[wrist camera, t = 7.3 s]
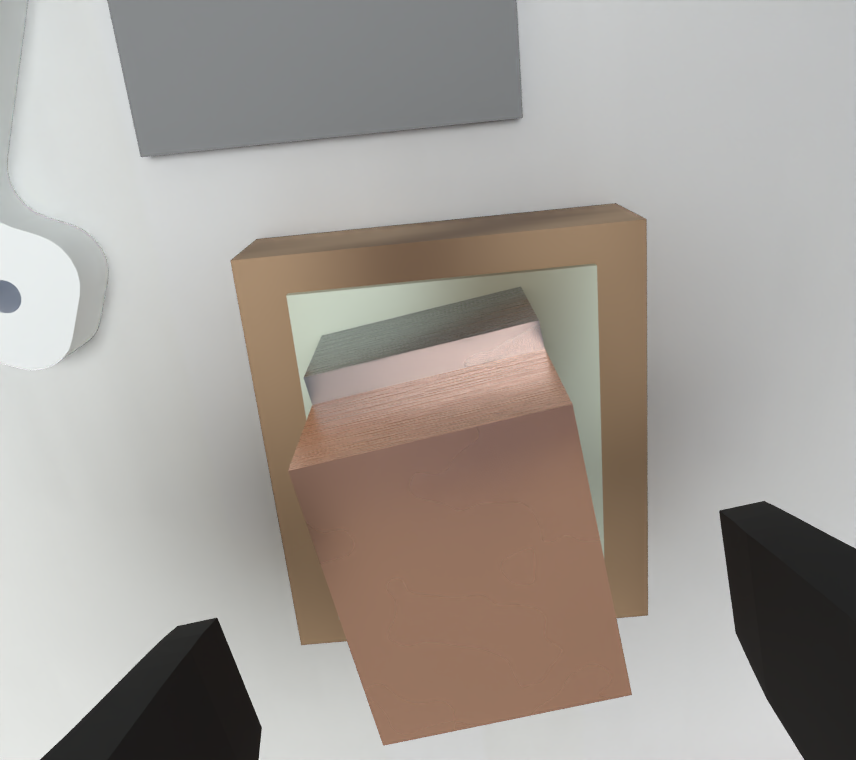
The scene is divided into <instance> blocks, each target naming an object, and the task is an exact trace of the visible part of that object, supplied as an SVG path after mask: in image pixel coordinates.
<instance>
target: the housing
mask: <svg viewBox="0 0 856 760" xmlns="http://www.w3.org/2000/svg"><path fill="white" fill-rule="evenodd" d="M304 381H305V384H306V387H307V390H308V393H309V396H310V399H311V403H312V407H311V410H310V412H309V415H308V418H307V420H306V423H305V426H304V429H303V431H302V434H301V437H300V439H299V442H298V445H297V448H296V450H295V453H294V456H293V459H292V461H291V464H290V467H289V469H288V472H289V475H290V478H291V481H292V484H293V487H294V489H295V492H296V495H297V498H298V501H299V504H300V507H301V510H302V513H303V515H304V518H305V521H306V524H307V527H308V530H309V533H310V536H311V538H312V541H313V544H314V547H315V550H316V553H317V556H318V559H319V562H320V564H321V567H322V570H323V573H324V576H325V579H326V582H327V585H328V587H329V590H330V593H331V596H332V599H333V602H334V605H335V608H336V610H337V613H338V616H339V619H340V622H341V625H342V628H343V631H344V634H345V636H346V639H347V642H348V645H349V648H350V651H351V654H352V657H353V659H354V662H355V665H356V668H357V671H358V674H359V677H360V680H361V683H362V685H363V688H364V691H365V694H366V697H367V700H368V703H369V706H370V708H371V711H372V714H373V717H374V720H375V723H376V726H377V729H378V732H379V734H380V737H381V740H382V743H383V745H388V744H393V743H398V742H403V741H408V740H413V739H418V738H422V737H427V736H432V735H437V734H442V733H447V732H452V731H457V730H462V729H467V728H471V727H476V726H481V725H486V724H491V723H496V722H501V721H506V720H511V719H516V718H520V717H525V716H530V715H535V714H540V713H545V712H550V711H555V710H560V709H565V708H569V707H574V706H579V705H584V704H589V703H594V702H599V701H604V700H609V699H613V698H618V697H623V696H628V695H632V693H631V688H630V683H629V678H628V673H627V668H626V664H625V659H624V654H623V649H622V644H621V639H620V634H619V629H618V624H617V619H616V615H615V610H614V605H613V600H612V595H611V590H610V585H609V580H608V575H607V570H606V566H605V561H604V556H603V551H602V546H601V541H600V536H599V531H598V526H597V521H596V517H595V512H594V507H593V502H592V497H591V492H590V487H589V482H588V477H587V472H586V468H585V463H584V458H583V453H582V448H581V443H580V438H579V433H578V428H577V423H576V419H575V414H574V409H573V404H572V402H571V400H570V398H569V396H568V394H567V392H566V390H565V388H564V386H563V384H562V382H561V380H560V378H559V376H558V374H557V372H556V370H555V368H554V366H553V364H552V362H551V360H550V358H549V356H548V354H547V352H546V350H545V347H544V342H543V337H542V332H541V328H540V323H539V320H538V318H537V316H536V314H535V312H534V310H533V308H532V306H531V305H530V303H529V301H528V299H527V297H526V295H525V293H524V292H523V290H522V288H521V286H520V287H516V288H512V289H508V290H504V291H500V292H496V293H492V294H488V295H484V296H480V297H476V298H472V299H468V300H464V301H459V302H455V303H451V304H447V305H443V306H439V307H435V308H431V309H427V310H423V311H419V312H415V313H411V314H407V315H403V316H399V317H395V318H391V319H387V320H383V321H379V322H375V323H371V324H366V325H362V326H358V327H354V328H350V329H346V330H342V331H338V332H334V333H330V334H326V335H322V336H321V339H320V341H319V343H318V345H317V348H316V350H315V352H314V355H313V357H312V359H311V361H310V364H309V366H308V368H307V371H306V373H305V375H304Z"/></svg>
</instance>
